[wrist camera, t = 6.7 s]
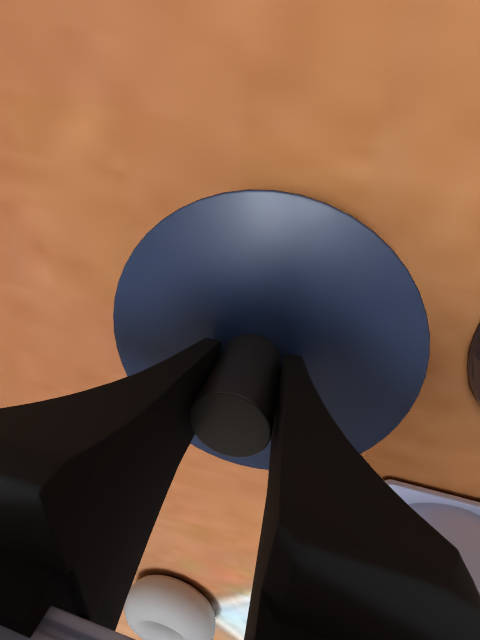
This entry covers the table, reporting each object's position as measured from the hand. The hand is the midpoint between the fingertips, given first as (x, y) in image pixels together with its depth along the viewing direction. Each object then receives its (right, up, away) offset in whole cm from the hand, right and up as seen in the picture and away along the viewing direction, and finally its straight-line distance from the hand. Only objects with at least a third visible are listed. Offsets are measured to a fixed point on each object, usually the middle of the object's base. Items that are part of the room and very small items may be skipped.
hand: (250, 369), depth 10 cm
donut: (-7, -28, +20) cm, 36 cm away
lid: (0, 0, +1) cm, 1 cm away
